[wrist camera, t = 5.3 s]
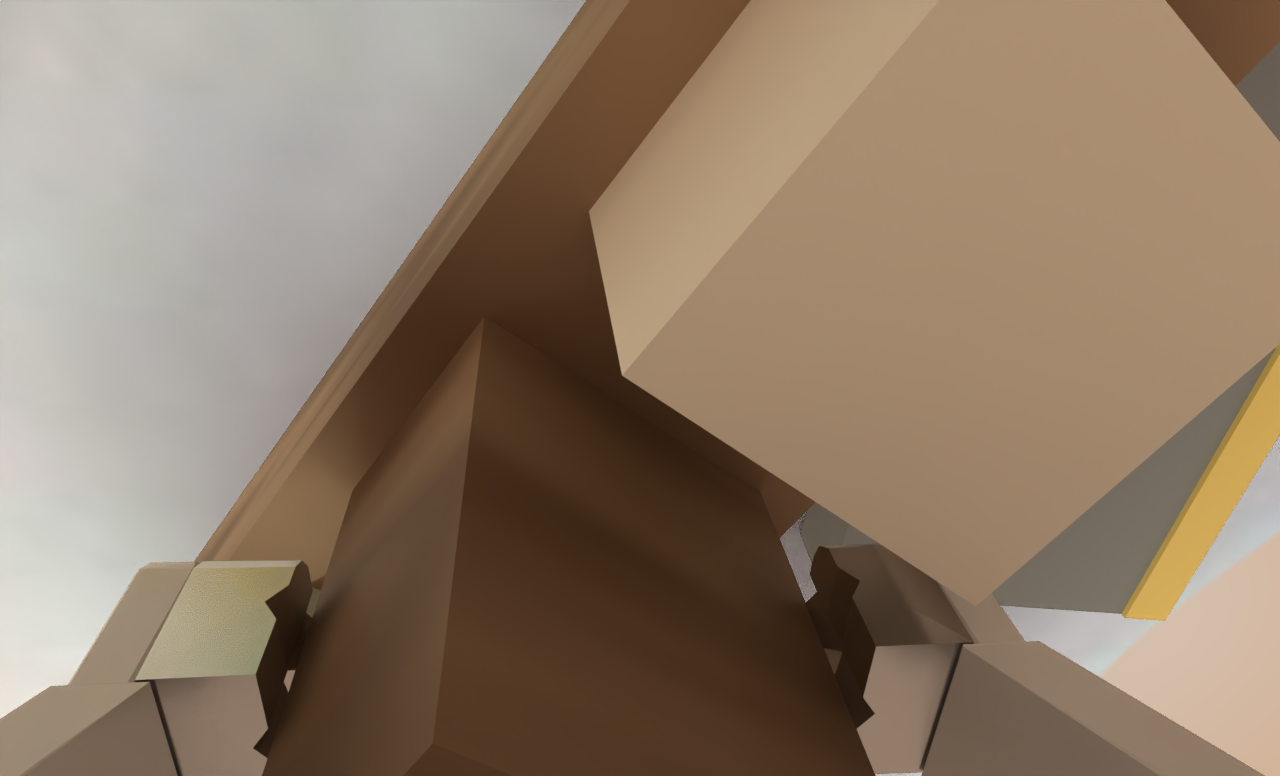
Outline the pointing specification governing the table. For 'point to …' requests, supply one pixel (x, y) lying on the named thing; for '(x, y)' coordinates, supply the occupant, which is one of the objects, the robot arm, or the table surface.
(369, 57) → the table surface
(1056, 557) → the dock
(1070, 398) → the block
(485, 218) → the wooden toy cargo boat
